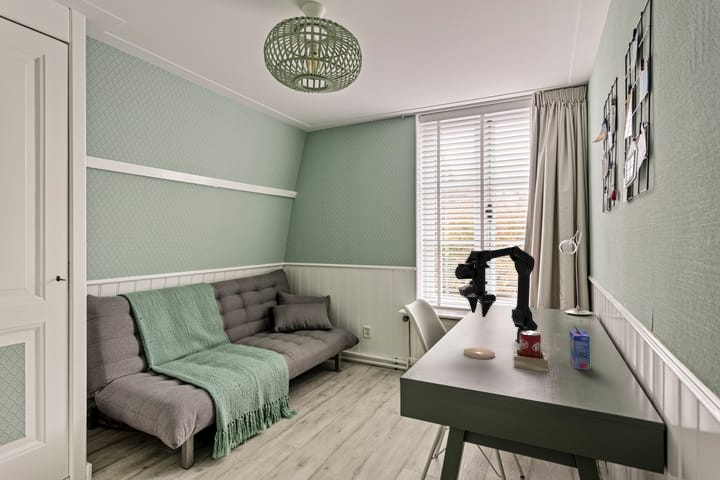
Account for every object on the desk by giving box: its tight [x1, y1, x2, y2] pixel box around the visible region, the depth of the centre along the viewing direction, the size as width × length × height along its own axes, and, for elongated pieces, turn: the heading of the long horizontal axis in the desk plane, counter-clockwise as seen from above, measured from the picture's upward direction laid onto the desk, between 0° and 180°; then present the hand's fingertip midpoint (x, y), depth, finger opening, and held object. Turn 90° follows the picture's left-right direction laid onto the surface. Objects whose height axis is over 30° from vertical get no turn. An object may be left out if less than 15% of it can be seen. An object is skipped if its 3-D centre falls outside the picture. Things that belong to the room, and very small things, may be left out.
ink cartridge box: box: [569, 325, 591, 371], centre depth 145 cm, size 10×6×14 cm, turn 161°
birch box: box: [513, 348, 549, 372], centre depth 144 cm, size 11×11×4 cm
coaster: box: [463, 347, 496, 360], centre depth 157 cm, size 12×12×1 cm
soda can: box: [519, 331, 542, 359], centre depth 144 cm, size 7×7×12 cm
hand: (478, 314), depth 167 cm, fingers open, 9 cm apart
